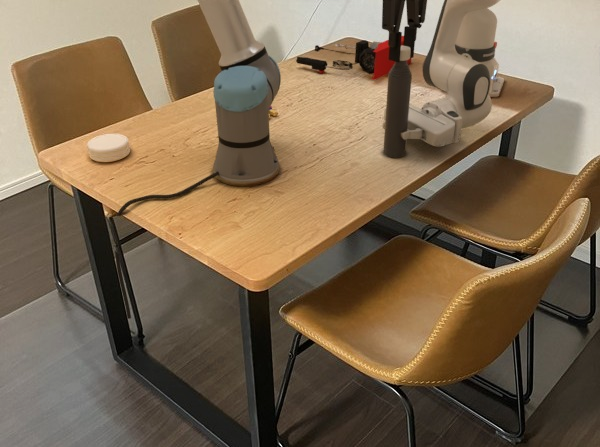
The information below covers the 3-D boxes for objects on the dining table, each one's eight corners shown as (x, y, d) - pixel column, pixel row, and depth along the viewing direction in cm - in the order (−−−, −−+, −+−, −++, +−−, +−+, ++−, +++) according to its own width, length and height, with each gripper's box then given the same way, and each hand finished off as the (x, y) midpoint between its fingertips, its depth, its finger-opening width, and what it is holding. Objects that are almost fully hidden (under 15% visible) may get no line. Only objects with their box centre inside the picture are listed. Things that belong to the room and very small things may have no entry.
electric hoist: (295, 37, 203) (374, 52, 188) (338, 23, 222) (414, 35, 207) (294, 67, 208) (372, 84, 193) (337, 51, 227) (411, 65, 212)
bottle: (408, 155, 152) (417, 54, 138) (388, 159, 150) (396, 56, 137) (399, 147, 156) (407, 47, 142) (379, 150, 154) (385, 49, 141)
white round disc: (100, 166, 148) (97, 153, 146) (82, 153, 155) (79, 140, 153) (137, 154, 154) (135, 141, 152) (119, 141, 160) (116, 129, 158)
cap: (410, 55, 142) (410, 45, 140) (410, 61, 138) (411, 51, 137) (392, 55, 142) (392, 45, 141) (391, 60, 139) (392, 50, 138)
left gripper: (394, -47, 121) (387, 70, 133) (450, -56, 130) (438, 54, 142) (367, -51, 126) (362, 62, 138) (422, -60, 135) (413, 47, 147)
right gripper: (410, 94, 161) (367, 105, 155) (466, 119, 146) (422, 133, 140) (408, 116, 165) (366, 128, 158) (463, 144, 150) (419, 158, 144)
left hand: (401, 58), depth 140 cm, fingers closed on cap, 4 cm apart
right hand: (393, 130), depth 149 cm, fingers closed on bottle, 5 cm apart
